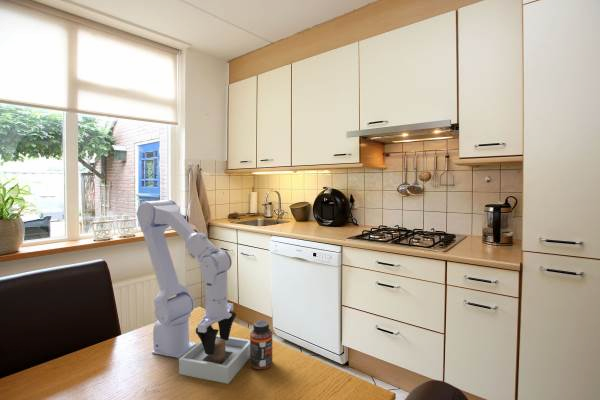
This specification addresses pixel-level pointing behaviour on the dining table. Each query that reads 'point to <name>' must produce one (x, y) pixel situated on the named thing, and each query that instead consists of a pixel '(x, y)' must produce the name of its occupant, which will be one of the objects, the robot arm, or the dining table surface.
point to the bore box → (199, 366)
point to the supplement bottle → (261, 346)
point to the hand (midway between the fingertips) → (217, 346)
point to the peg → (219, 352)
